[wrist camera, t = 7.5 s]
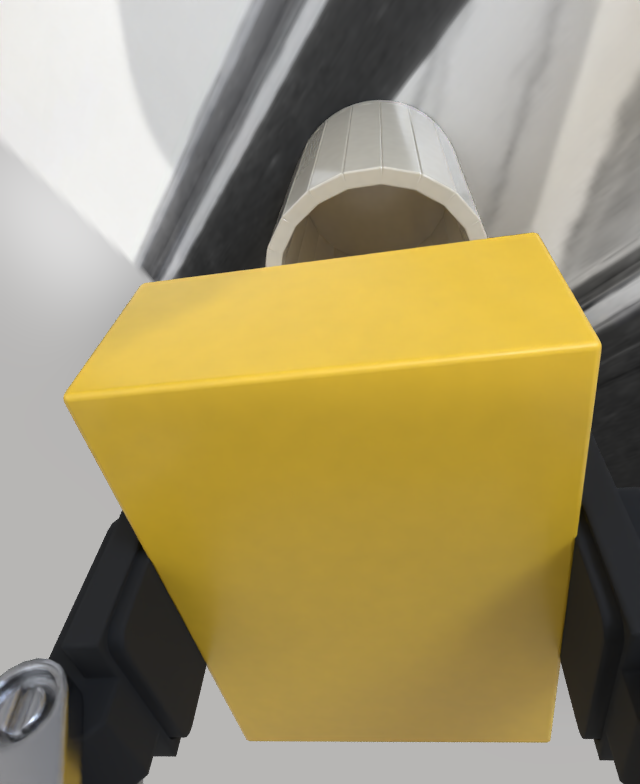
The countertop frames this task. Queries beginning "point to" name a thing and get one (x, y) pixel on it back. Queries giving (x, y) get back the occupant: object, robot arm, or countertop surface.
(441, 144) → the cup
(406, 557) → the block
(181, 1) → the countertop surface
